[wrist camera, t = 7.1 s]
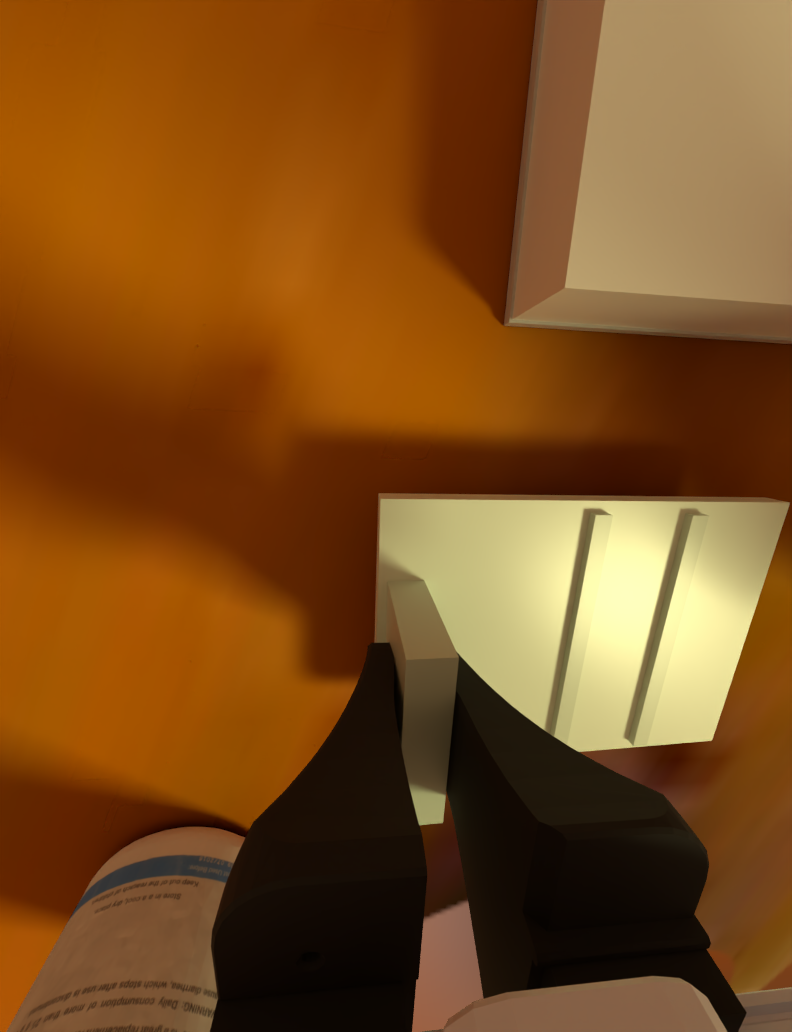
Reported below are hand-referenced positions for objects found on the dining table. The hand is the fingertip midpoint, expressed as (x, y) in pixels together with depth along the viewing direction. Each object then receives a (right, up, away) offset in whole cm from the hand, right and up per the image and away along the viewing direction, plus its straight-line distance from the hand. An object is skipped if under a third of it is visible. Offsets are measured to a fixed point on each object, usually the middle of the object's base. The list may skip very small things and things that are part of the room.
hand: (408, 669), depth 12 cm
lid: (+6, +1, +3) cm, 7 cm away
